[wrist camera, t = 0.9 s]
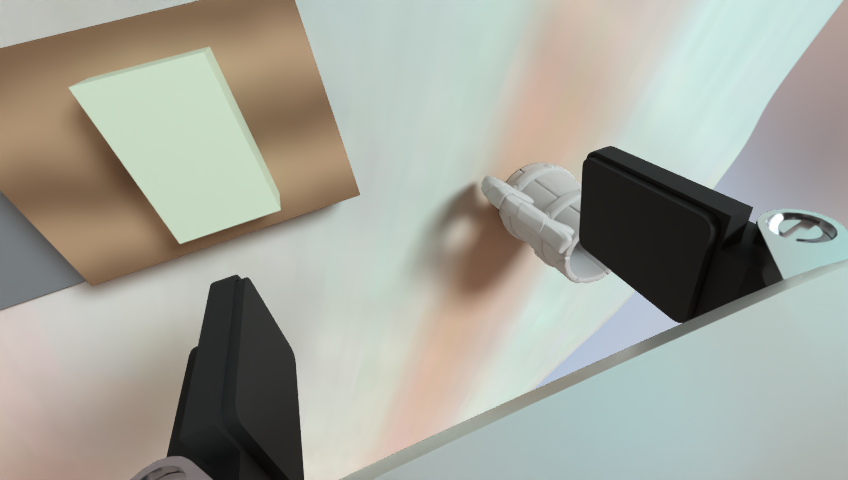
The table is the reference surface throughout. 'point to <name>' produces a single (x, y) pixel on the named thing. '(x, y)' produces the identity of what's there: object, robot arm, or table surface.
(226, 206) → the tile
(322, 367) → the table surface
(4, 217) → the mat
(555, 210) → the mug
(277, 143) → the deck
